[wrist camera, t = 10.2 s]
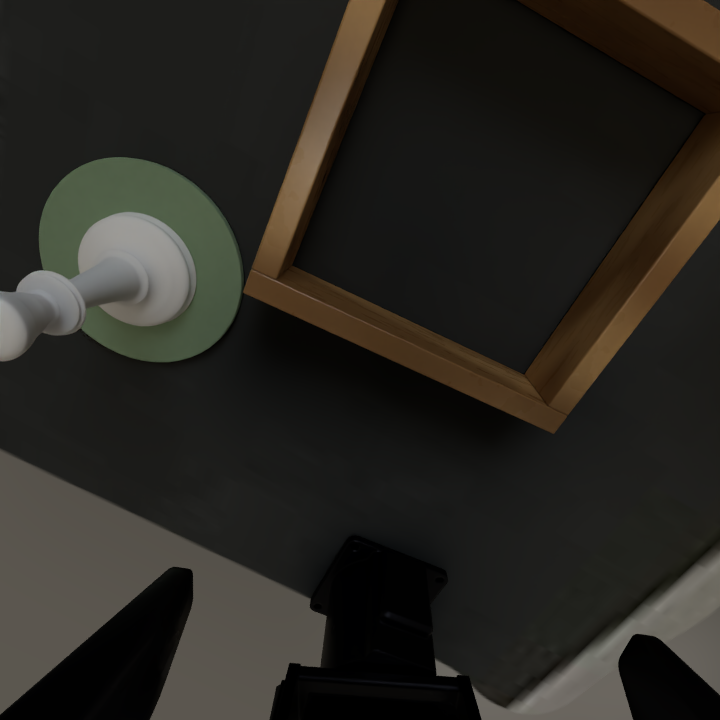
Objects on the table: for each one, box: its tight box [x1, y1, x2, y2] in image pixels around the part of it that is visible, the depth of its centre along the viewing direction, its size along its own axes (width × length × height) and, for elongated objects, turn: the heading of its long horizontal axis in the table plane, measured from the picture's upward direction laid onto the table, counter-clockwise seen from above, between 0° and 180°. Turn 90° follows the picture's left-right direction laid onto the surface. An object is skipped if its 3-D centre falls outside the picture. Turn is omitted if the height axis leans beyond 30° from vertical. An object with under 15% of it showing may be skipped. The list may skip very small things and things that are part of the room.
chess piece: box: [0, 212, 196, 361], centre depth 14 cm, size 5×5×10 cm
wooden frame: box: [243, 0, 720, 434], centre depth 16 cm, size 14×14×3 cm
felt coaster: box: [39, 157, 244, 362], centre depth 19 cm, size 9×9×1 cm
